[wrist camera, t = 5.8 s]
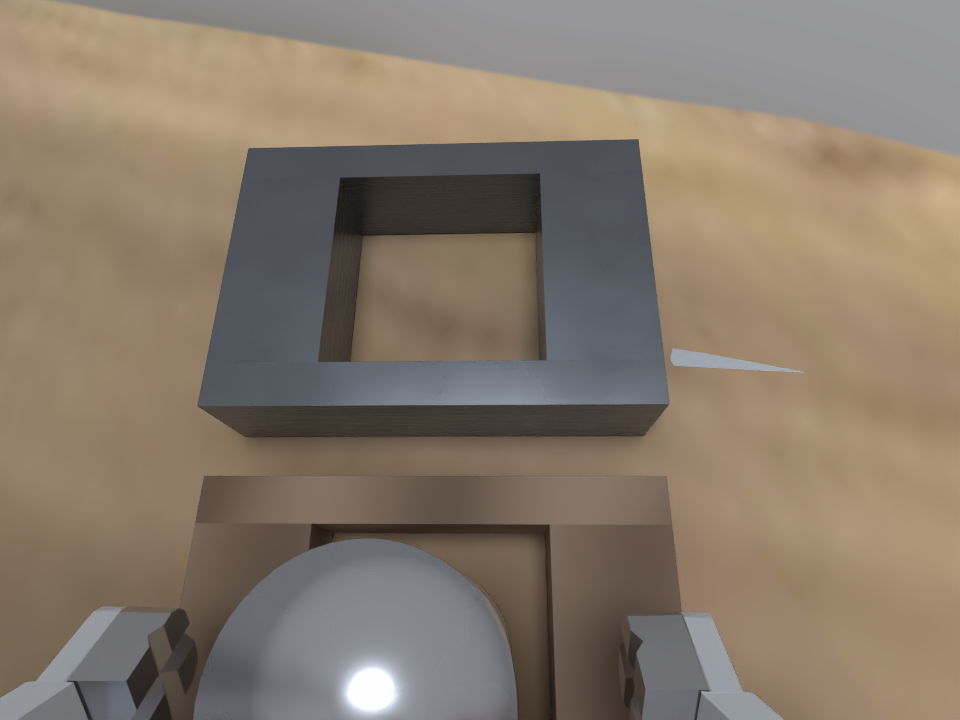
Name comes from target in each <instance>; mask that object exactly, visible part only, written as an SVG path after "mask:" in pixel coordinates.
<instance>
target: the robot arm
mask: <svg viewBox="0 0 960 720" xmlns="http://www.w3.org/2000/svg"><path fill="white" fill-rule="evenodd" d="M189 624H190V623H189V620H188V617H187V614H186V611H185V610H183V609H179V608H155V607H114V606H102V607H100V608H98V609H97V610H95V611H93V612H92V614H91V615H90V616H89V617H88V618H87V620H86V621H85V622H84V623H83V624H82V626H81V627H80V628H79V629H78V630H77V632H76V633H75V634H74V635H73V637H72V638H71V639H70V640H69V641H68V643H67V644H66V645H65V646H64V647H63V649H62V650H61V651H60V652H59V653H58V655H57V656H56V657H55V658H54V660H53V661H52V662H51V663H50V664H49V666H48V667H47V668H46V669H45V670H44V672H43V673H42V674H41V675H40V677H39V678H38V679H37V680H36V681H34V682H25V683H24V684H22V685H21V686H19V687H17V688H16V689H14V690H12V691H11V692H9V693H8V694H6V695H4V696H3V697H1V698H0V720H173V719H172V713H171V707H172V706H174V705H175V704H176V703H177V702H179V701H180V700H181V699H183V698H184V697H185V696H186V694H187V692H188V690H189V688H190V686H191V684H192V682H193V680H194V676H195V672H196V668H197V648H196V644H195V641H194V640H193V639H191V638H190V637H189V636H188V635H187V634H186V633H185V630H186V629H187V627H188V625H189ZM621 631H622V635H623V640H624V642H623V643H622V644H621V645H620V646H619V659H618V663H619V680H620V688H621V693H622V699H623V703H624V704H625V706H626V707H627V708H628V709H629V710H630V716H629V720H784V719H783V718H782V717H781V716H779V715H778V714H777V713H776V712H775V711H774V710H772V709H771V708H770V707H769V706H768V705H767V704H765V703H764V702H763V701H762V700H761V699H760V698H758V697H757V696H756V695H755V694H754V693H751V692H744V691H743V689H742V687H741V684H740V682H739V680H738V677H737V675H736V672H735V670H734V668H733V665H732V663H731V661H730V658H729V656H728V653H727V651H726V649H725V646H724V644H723V642H722V639H721V637H720V635H719V632H718V630H717V627H716V625H715V623H714V620H713V618H712V616H711V615H710V614H709V613H708V612H679V613H678V612H624V613H623V616H622V623H621Z"/></svg>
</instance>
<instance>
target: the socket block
mask: <svg viewBox="0 0 960 720" xmlns="http://www.w3.org/2000/svg"><path fill="white" fill-rule="evenodd" d="M500 232H536V263H537V295H538V326H539V358H540V360H529V361H399V362H350V356H351V346H352V336H353V326H354V316H355V305H356V295H357V285H358V275H359V265H360V255H361V245H362V235H380V234H440V233H500ZM668 405H669V396H668V387H667V379H666V370H665V362H664V353H663V345H662V336H661V328H660V319H659V311H658V302H657V294H656V285H655V277H654V268H653V260H652V251H651V243H650V234H649V226H648V217H647V209H646V200H645V192H644V183H643V175H642V166H641V158H640V149H639V141H638V139H633V140H590V141H547V142H503V143H460V144H417V145H374V146H330V147H287V148H249V149H248V154H247V159H246V164H245V169H244V174H243V179H242V184H241V189H240V194H239V199H238V204H237V209H236V214H235V219H234V224H233V229H232V234H231V239H230V244H229V249H228V254H227V259H226V264H225V269H224V275H223V280H222V285H221V290H220V295H219V300H218V305H217V310H216V315H215V320H214V325H213V330H212V335H211V340H210V345H209V350H208V355H207V360H206V365H205V370H204V375H203V380H202V385H201V390H200V396H199V401H198V407H199V408H201V409H203V410H204V411H206V412H207V413H209V414H210V415H212V416H213V417H215V418H217V419H218V420H220V421H221V422H223V423H224V424H226V425H228V426H229V427H231V428H232V429H234V430H235V431H237V432H238V433H240V434H242V435H243V436H245V437H283V436H644V435H645V434H646V432H647V431H648V430H649V429H650V427H651V426H652V425H653V424H654V423H655V421H656V420H657V419H658V418H659V416H660V415H661V414H662V413H663V411H664V410H665V409H666V408H667V407H668Z"/></svg>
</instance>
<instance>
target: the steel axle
mask: <svg viewBox="0 0 960 720" xmlns="http://www.w3.org/2000/svg"><path fill="white" fill-rule="evenodd" d="M517 716H518V708H517V693H516V682H515V675H514V668H513V661H512V654H511V647H510V640H509V635H508V630H507V627H506V624H505V620H504V618H503V616H502V614H501V612H500V610H499V608H498V606H497V605H496V603H495V602H494V600H493V599H492V598H491V597H490V595H489V594H488V593H487V592H486V591H485V590H484V589H483V588H482V587H480V586H479V585H478V584H476V583H475V582H474V581H472V580H471V579H469V578H468V577H466V576H465V575H463V574H462V573H460V572H459V571H457V570H455V569H454V568H452V567H451V566H449V565H448V564H446V563H445V562H443V561H442V560H440V559H438V558H436V557H435V556H433V555H431V554H429V553H427V552H425V551H423V550H421V549H418V548H415V547H413V546H410V545H407V544H404V543H399V542H395V541H390V540H384V539H371V538H364V539H348V540H343V541H338V542H333V543H329V544H326V545H323V546H320V547H317V548H314V549H311V550H309V551H307V552H305V553H302V554H300V555H298V556H296V557H294V558H292V559H291V560H289V561H288V562H286V563H284V564H283V565H281V566H280V567H278V568H277V569H275V570H274V571H273V572H272V573H270V574H269V575H268V576H267V577H265V578H264V579H263V580H262V581H261V582H259V583H258V584H257V585H256V586H255V587H254V588H253V590H252V591H251V592H250V593H249V594H248V595H247V596H246V597H245V598H244V599H243V600H242V601H241V603H240V604H239V605H238V607H237V608H236V609H235V611H234V612H233V613H232V615H231V616H230V617H229V619H228V620H227V622H226V624H225V625H224V627H223V629H222V630H221V632H220V634H219V635H218V637H217V639H216V641H215V644H214V646H213V648H212V650H211V652H210V654H209V656H208V659H207V662H206V665H205V668H204V670H203V673H202V676H201V679H200V683H199V687H198V692H197V696H196V701H195V706H194V715H193V720H517Z"/></svg>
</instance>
